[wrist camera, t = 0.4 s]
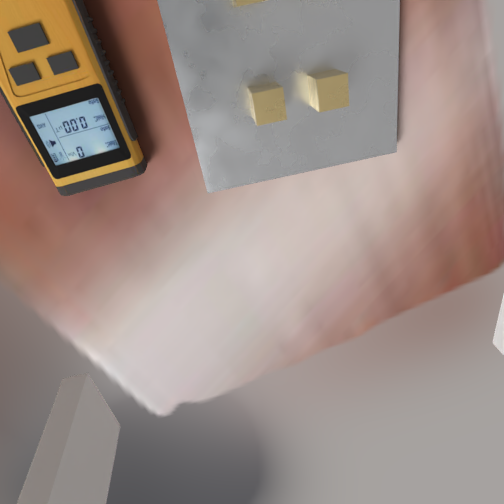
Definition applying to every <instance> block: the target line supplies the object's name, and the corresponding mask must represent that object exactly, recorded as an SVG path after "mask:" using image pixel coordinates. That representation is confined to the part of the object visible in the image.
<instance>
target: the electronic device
mask: <svg viewBox="0 0 504 504" xmlns="http://www.w3.org/2000/svg"><path fill="white" fill-rule="evenodd" d="M92 21H93V19H92V18H91V17H89V15H88V12H87V10H86V7H85V5H84V2H83V0H0V92H1V94H2V95H3V97H4V99H5V101H6V103H7V104H8V106H9V108H10V110H11V112H12V114H13V115H14V117H15V119H16V120H17V123H18V124H19V126H20V127H21V129H22V132H23V133H24V135H25V136H26V138H27V140H28V142H29V144H30V145H31V147H32V149H33V151H34V152H35V154H36V156H37V158H38V159H39V161H40V163H41V164H42V166H43V167H44V166H45V167H46V169H47V171H48V173H49V174H50V176H51V178H52V180H53V181H54V183H55V185H56V187H57V189H58V191H59V193H60V194H61V195H62V196H69V195H73V194H76V193H80V192H83V191H87V190H90V189H94V188H97V187H101V186H105V185H108V184H112V183H115V182H119V181H122V180H126V179H129V178H133V177H136V176H139V175H141V174H143V173H144V172H145V170H146V167H147V163H146V160H145V158H144V156H143V154H142V151H141V149H140V146H139V144H138V142H137V137H138V136H137V133H136V131H135V128H134V126H133V124H132V121H131V119H130V116H129V114H128V111H127V109H126V106H125V104H124V102H125V99H123V98H122V96H121V94H120V93H121V92H122V91H121V90H120V89H118V86H117V83H118V81H117V80H115V79H114V77H113V73H114V71H113V70H111V69H110V67H109V63H110V61H109V60H107V59H106V57H105V53H106V51H105V50H103V49H102V47H101V42H102V41H101V40H100V39H98V37H97V34H96V33H97V29H95V28H94V27H93V25H92Z"/></svg>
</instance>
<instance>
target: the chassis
mask: <svg viewBox="0 0 504 504" xmlns="http://www.w3.org/2000/svg"><path fill="white" fill-rule="evenodd" d="M157 1H158V4H159V8H160V12H161V16H162V20H163V24H164V27H165V31H166V35H167V39H168V43H169V47H170V50H171V54H172V58H173V62H174V66H175V70H176V73H177V77H178V81H179V85H180V89H181V93H182V96H183V100H184V104H185V108H186V112H187V115H188V119H189V123H190V127H191V131H192V135H193V138H194V142H195V146H196V150H197V154H198V158H199V161H200V165H201V169H202V173H203V177H204V181H205V184H206V188H207V192H208V193H211V192H216V191H221V190H225V189H230V188H234V187H239V186H244V185H248V184H253V183H257V182H262V181H266V180H271V179H276V178H280V177H285V176H289V175H294V174H299V173H303V172H308V171H312V170H317V169H322V168H326V167H331V166H335V165H340V164H344V163H349V162H354V161H358V160H363V159H367V158H372V157H377V156H381V155H386V154H390V153H395V152H397V107H398V62H399V17H400V0H157Z"/></svg>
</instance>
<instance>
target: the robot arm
mask: <svg viewBox="0 0 504 504" xmlns="http://www.w3.org/2000/svg"><path fill="white" fill-rule="evenodd" d="M493 344H494V345H495V346H496V347H497V348H498V349H499V351H500V352H501V353H502V354H503V355H504V295H503V299H502V304H501V308H500V312H499V317H498V321H497V325H496V330H495V334H494V338H493ZM119 430H120V424H119V423H118V421H117V419H116V418H115V416H114V415H113V413H112V411H111V410H110V408H109V406H108V405H107V403H106V402H105V400H104V398H103V397H102V395H101V393H100V392H99V390H98V388H97V387H96V385H95V384H94V382H93V380H92V379H91V377H90V376H89V374H88V373H84V374H80V375H75V376H70V377H66V378H63V380H62V382H61V385H60V388H59V391H58V393H57V396H56V399H55V401H54V405H53V407H52V410H51V412H50V415H49V418H48V420H47V423H46V426H45V428H44V431H43V434H42V437H41V440H40V442H39V445H38V447H37V450H36V453H35V456H34V458H33V461H32V464H31V467H30V469H29V472H28V475H27V477H26V480H25V483H24V485H23V488H22V491H21V494H20V497H19V499H18V502H17V504H106V500H107V495H108V489H109V484H110V479H111V473H112V467H113V463H114V457H115V452H116V446H117V441H118V435H119Z"/></svg>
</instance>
